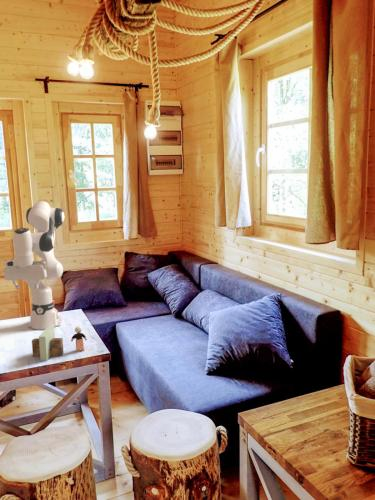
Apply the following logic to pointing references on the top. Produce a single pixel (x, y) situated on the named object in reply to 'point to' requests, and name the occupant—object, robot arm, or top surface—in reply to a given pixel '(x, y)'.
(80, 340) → the grandmother figurine
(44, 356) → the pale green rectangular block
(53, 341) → the wooden u-shaped block
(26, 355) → the top surface
